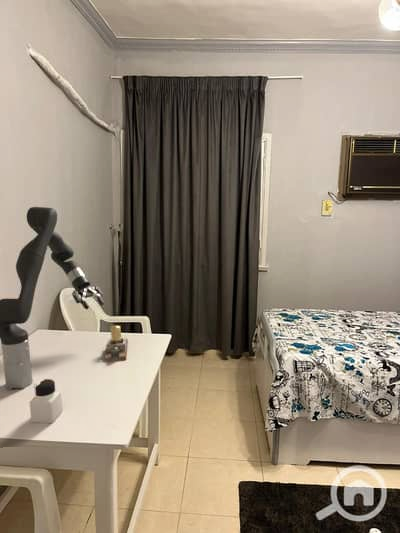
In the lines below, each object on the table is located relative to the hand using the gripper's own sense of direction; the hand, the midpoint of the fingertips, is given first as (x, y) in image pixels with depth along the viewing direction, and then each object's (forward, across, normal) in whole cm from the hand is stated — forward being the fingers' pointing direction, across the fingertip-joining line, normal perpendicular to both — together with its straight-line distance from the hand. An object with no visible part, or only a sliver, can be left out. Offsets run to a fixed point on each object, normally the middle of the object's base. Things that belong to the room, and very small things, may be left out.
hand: (95, 306), depth 179 cm
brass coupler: (+21, +1, +4) cm, 22 cm away
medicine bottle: (+40, -49, -11) cm, 64 cm away
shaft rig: (+22, +1, +5) cm, 23 cm away
